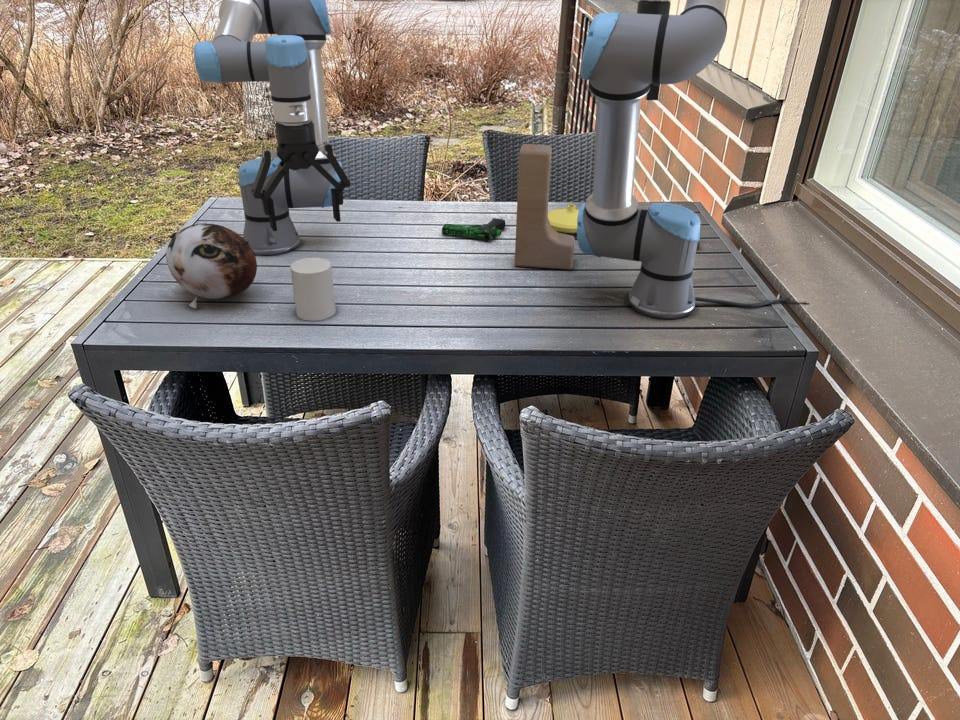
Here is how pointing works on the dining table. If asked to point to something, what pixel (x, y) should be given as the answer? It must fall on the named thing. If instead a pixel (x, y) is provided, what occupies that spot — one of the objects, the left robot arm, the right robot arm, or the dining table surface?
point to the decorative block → (538, 214)
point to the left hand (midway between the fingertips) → (306, 224)
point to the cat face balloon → (211, 261)
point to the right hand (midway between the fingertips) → (642, 94)
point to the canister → (313, 288)
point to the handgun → (476, 230)
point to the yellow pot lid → (564, 219)
